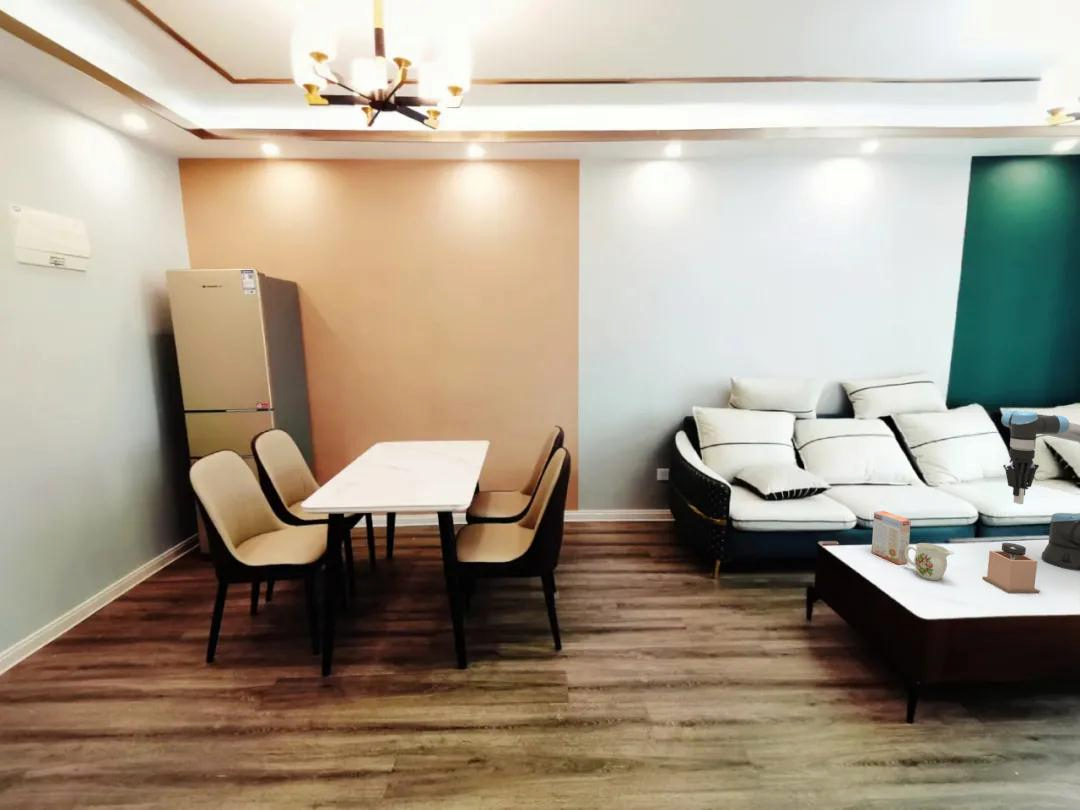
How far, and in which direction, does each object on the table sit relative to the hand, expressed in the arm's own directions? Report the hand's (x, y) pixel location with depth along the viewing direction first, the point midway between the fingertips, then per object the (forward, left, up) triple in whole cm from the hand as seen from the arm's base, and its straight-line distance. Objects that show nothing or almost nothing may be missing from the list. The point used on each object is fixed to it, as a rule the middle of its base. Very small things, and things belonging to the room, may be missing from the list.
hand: (1018, 503), depth 205 cm
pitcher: (+35, -1, -33) cm, 48 cm away
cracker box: (+39, -19, -33) cm, 54 cm away
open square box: (+8, +8, -33) cm, 35 cm away
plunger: (+8, +8, -31) cm, 33 cm away
